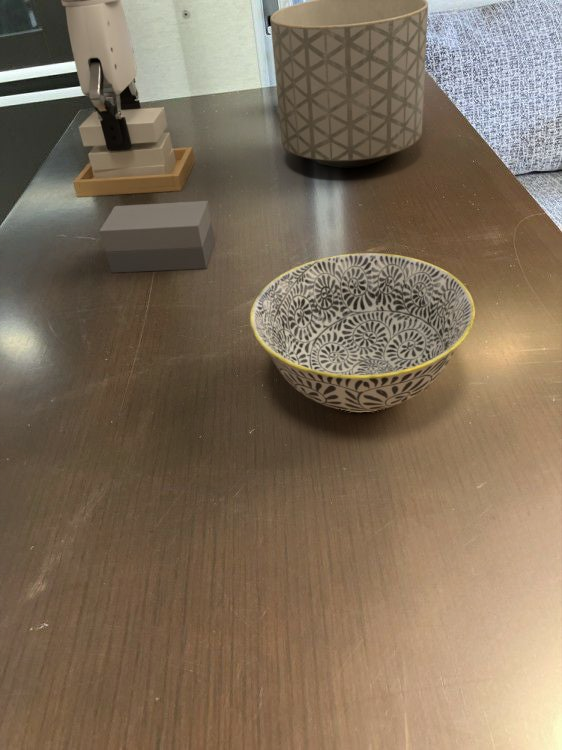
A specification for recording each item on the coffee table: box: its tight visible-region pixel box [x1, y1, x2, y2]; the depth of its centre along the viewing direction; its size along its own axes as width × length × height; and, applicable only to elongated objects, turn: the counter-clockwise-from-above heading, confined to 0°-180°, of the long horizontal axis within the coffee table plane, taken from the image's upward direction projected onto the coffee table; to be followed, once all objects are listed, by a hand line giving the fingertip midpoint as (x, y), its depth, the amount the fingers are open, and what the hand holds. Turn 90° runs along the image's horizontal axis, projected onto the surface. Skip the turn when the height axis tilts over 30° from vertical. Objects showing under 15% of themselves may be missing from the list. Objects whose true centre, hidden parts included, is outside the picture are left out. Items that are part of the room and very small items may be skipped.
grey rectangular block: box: [98, 200, 216, 274], centre depth 67 cm, size 10×6×5 cm, turn 86°
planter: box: [269, 0, 429, 169], centre depth 81 cm, size 19×19×18 cm
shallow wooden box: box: [72, 146, 196, 198], centre depth 87 cm, size 15×11×2 cm
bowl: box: [249, 252, 476, 411], centre depth 47 cm, size 16×16×8 cm
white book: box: [78, 106, 169, 147], centre depth 83 cm, size 10×6×2 cm, turn 86°
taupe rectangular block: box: [87, 131, 176, 179], centre depth 86 cm, size 10×7×4 cm
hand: (127, 138), depth 85 cm, fingers closed on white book, 6 cm apart
